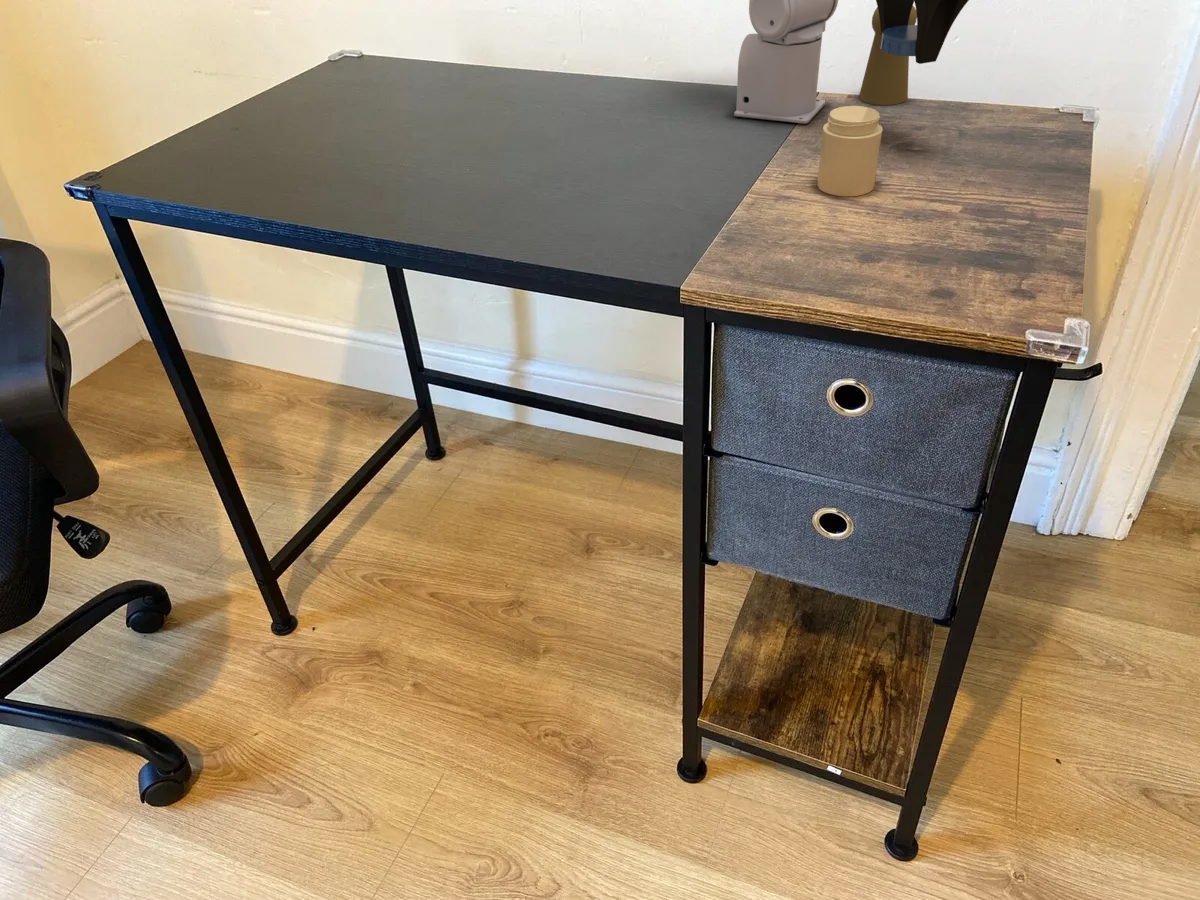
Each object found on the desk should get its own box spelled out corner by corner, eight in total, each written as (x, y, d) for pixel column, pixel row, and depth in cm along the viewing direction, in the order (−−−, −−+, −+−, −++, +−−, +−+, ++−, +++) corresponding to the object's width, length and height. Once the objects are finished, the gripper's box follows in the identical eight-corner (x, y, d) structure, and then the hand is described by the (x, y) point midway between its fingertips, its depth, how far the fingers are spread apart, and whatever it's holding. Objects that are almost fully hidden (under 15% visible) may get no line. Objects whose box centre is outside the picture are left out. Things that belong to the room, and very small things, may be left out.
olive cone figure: (909, 105, 110) (924, 9, 103) (859, 104, 111) (871, 10, 104) (906, 89, 114) (920, -3, 107) (858, 89, 115) (869, -3, 108)
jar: (811, 192, 91) (818, 120, 86) (824, 172, 95) (831, 102, 90) (867, 199, 89) (878, 126, 84) (879, 178, 93) (889, 106, 88)
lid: (951, 51, 93) (954, 35, 92) (900, 59, 92) (902, 43, 91) (918, 37, 98) (921, 22, 97) (869, 45, 96) (871, 29, 95)
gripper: (1014, -87, 82) (982, 66, 90) (924, -105, 93) (904, 33, 101) (948, -79, 80) (922, 76, 89) (865, -97, 91) (849, 42, 100)
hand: (908, 54), depth 95 cm, fingers closed on lid, 6 cm apart
